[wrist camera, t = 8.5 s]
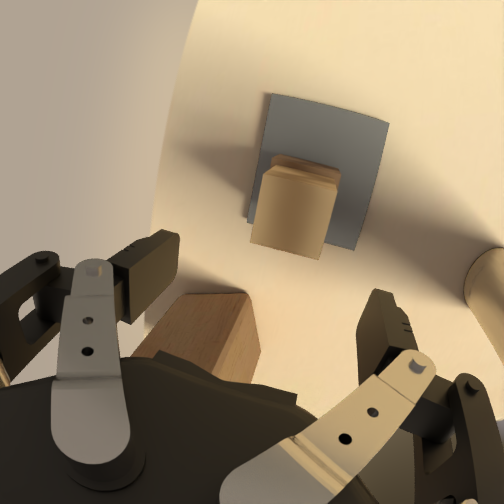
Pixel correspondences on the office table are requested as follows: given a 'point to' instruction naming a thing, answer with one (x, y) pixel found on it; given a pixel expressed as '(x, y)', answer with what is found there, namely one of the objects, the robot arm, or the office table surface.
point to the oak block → (293, 211)
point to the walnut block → (307, 166)
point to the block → (209, 335)
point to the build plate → (326, 156)
